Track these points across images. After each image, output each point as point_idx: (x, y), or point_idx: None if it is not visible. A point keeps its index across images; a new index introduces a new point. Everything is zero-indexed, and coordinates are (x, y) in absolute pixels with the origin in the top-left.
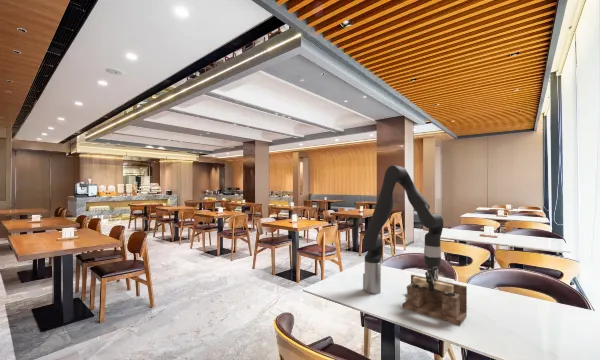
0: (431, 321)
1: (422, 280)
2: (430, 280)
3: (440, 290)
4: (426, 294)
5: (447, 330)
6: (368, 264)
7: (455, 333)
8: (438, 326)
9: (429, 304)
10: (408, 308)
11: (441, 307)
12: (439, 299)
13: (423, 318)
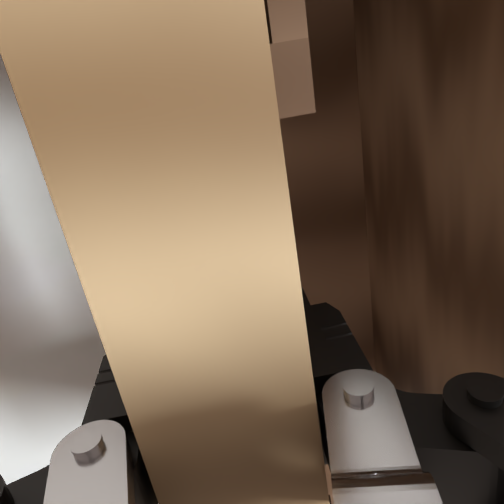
0: (37, 289)
1: (86, 267)
2: (255, 422)
3: (448, 310)
4: (393, 80)
5: (18, 420)
6: None
7: (31, 461)
8: (10, 360)
9: (302, 144)
10: None
11: (323, 259)
12: (390, 243)
13: (20, 218)
